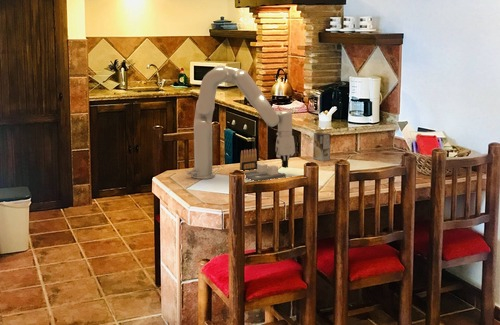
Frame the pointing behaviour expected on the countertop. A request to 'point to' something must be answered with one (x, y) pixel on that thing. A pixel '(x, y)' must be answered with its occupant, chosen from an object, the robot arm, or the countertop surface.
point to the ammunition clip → (248, 160)
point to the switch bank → (262, 175)
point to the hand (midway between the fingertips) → (285, 167)
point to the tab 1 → (262, 168)
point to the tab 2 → (272, 170)
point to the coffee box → (321, 146)
